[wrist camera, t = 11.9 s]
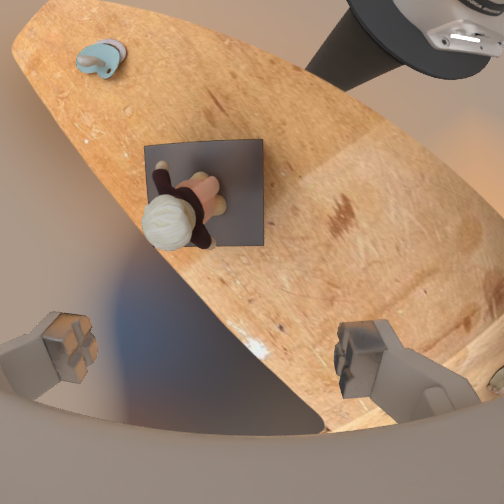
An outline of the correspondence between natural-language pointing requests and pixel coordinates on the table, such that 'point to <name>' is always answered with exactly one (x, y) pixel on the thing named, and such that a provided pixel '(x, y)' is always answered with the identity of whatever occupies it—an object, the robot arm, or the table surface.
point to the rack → (230, 183)
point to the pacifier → (101, 58)
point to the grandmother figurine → (182, 210)
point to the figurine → (497, 383)
